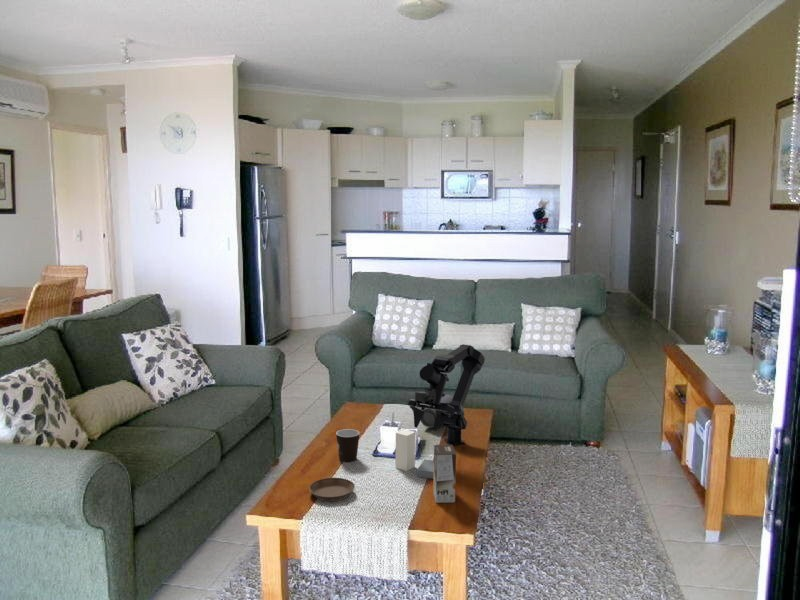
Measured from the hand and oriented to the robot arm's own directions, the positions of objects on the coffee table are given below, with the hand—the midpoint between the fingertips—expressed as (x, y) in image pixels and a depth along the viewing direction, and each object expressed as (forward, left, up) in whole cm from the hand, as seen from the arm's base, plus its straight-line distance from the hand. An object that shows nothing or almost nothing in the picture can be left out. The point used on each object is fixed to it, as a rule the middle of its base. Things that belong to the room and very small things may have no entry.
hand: (424, 429), depth 251 cm
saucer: (+19, -39, -12) cm, 45 cm away
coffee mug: (-10, -26, -12) cm, 30 cm away
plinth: (+13, -1, -12) cm, 17 cm away
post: (+5, -9, -12) cm, 16 cm away
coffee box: (+32, -5, -12) cm, 34 cm away
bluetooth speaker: (-38, +21, -12) cm, 45 cm away
